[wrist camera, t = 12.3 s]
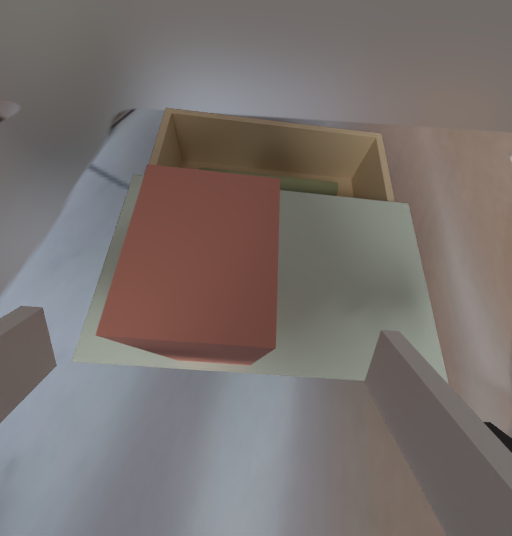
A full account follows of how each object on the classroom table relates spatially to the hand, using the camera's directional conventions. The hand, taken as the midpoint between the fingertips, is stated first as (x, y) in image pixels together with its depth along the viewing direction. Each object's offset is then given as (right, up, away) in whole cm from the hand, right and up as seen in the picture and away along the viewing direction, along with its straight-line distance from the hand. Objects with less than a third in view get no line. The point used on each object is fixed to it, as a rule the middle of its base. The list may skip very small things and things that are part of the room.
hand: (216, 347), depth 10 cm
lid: (+3, +3, +7) cm, 8 cm away
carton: (+3, +9, +16) cm, 19 cm away
